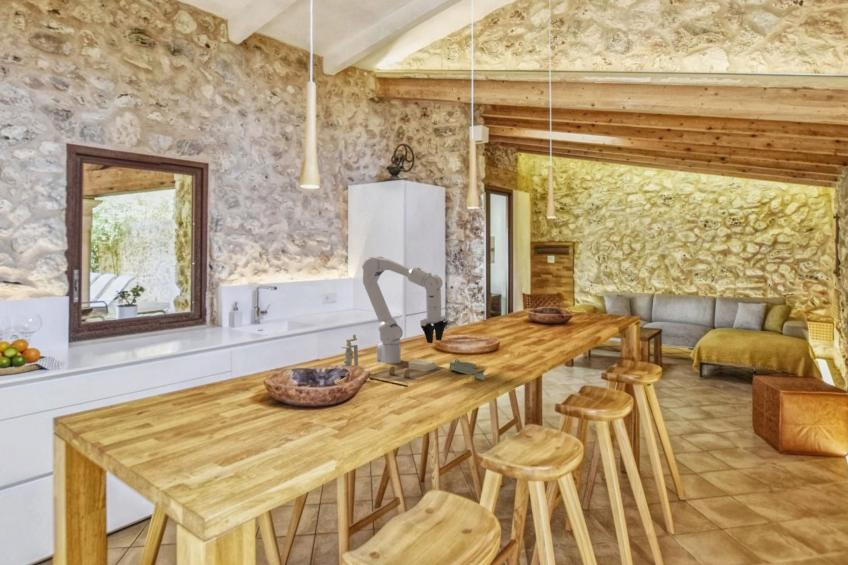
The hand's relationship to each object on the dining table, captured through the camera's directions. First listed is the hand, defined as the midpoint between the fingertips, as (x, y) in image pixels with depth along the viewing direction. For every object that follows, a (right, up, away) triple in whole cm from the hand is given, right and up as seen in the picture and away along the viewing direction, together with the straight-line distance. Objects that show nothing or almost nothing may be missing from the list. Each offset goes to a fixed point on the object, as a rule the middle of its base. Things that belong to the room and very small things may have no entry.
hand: (434, 341), depth 189 cm
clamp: (-32, -12, -9) cm, 35 cm away
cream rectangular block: (-5, -9, -6) cm, 12 cm away
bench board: (-10, -11, -9) cm, 18 cm away
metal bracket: (+12, -12, -9) cm, 19 cm away
